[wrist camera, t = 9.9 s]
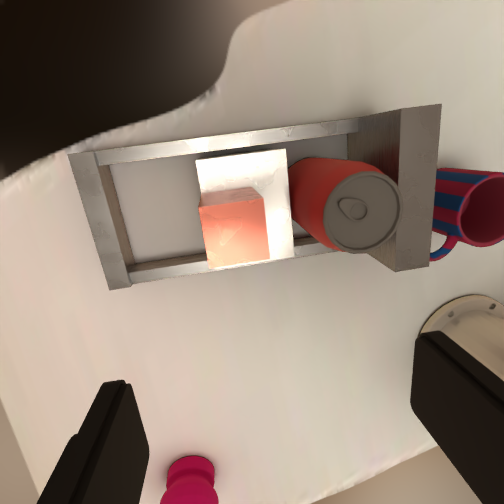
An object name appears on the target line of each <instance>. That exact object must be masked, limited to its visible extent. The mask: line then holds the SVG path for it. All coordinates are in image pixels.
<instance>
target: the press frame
mask: <svg viewBox="0 0 504 504" xmlns="http://www.w3.org/2000/svg"><path fill="white" fill-rule="evenodd" d="M441 107H442V104H435V105H427V106H419V107H411V108H403V109H398V110H393V111H388V112H383V113H378V114H374V115H369V116H364V117H359V118H352V119H344V120H336V121H328V122H320V123H312V124H304V125H297V126H289V127H281V128H273V129H265V130H257V131H249V132H241V133H233V134H225V135H218V136H210V137H202V138H194V139H186V140H178V141H170V142H162V143H154V144H146V145H139V146H131V147H123V148H115V149H107V150H99V151H89V152H81V153H73V154H68V158H69V161H70V164H71V167H72V171H73V174H74V177H75V180H76V184H77V187H78V190H79V193H80V196H81V200H82V203H83V206H84V209H85V213H86V216H87V219H88V222H89V225H90V229H91V232H92V235H93V238H94V242H95V245H96V248H97V251H98V255H99V258H100V261H101V264H102V267H103V271H104V274H105V277H106V280H107V284H108V287H109V290H114V289H120V288H127V287H131V286H132V284H137V283H143V282H149V281H155V280H162V279H168V278H174V277H180V276H186V275H193V274H199V273H205V272H211V271H217V270H224V269H230V268H236V267H242V266H248V265H255V264H261V263H267V262H273V261H279V260H286V259H292V258H298V257H304V256H310V255H317V254H323V253H329V252H335V251H338V250H335V249H331V248H328V247H326V246H325V245H323V244H322V243H320V242H319V241H318V240H316V239H315V238H314V237H313V236H311V237H305V238H299V239H293V245H294V257H290V258H283V259H277V260H271V261H265V262H258V263H252V264H246V265H240V266H234V267H227V268H221V269H215V268H211V269H209V264H208V258H207V253H203V254H196V255H190V256H183V257H177V258H171V259H164V260H158V261H151V262H145V263H139V264H135V261H134V258H133V254H132V250H131V247H130V243H129V239H128V235H127V232H126V228H125V224H124V221H123V217H122V213H121V209H120V206H119V202H118V198H117V195H116V191H115V187H114V184H113V180H112V176H111V172H110V169H109V164H116V163H124V162H132V161H139V160H147V159H155V158H162V157H170V156H178V155H185V154H193V153H201V152H209V151H216V150H224V149H232V148H239V147H247V146H255V145H262V144H270V143H278V142H285V141H293V140H301V139H308V138H316V137H324V136H331V135H339V134H347V147H348V160H350V161H361V162H364V163H367V164H370V165H372V166H375V167H376V168H378V169H379V170H380V171H381V172H383V173H384V174H385V175H387V176H388V177H389V178H390V179H392V180H393V181H394V182H395V183H396V184H397V186H398V188H399V190H400V192H401V194H402V199H403V206H404V207H403V213H402V219H401V222H400V224H399V226H398V228H397V230H396V232H395V233H394V234H393V236H392V237H391V238H390V239H389V240H388V241H387V242H386V243H385V244H383V245H382V246H380V247H379V248H378V249H375V250H373V251H370V252H367V254H369V255H370V256H372V257H373V258H375V259H376V260H378V261H379V262H381V263H382V264H384V265H385V266H387V267H388V268H390V269H391V270H393V271H394V272H398V271H404V270H410V269H416V268H422V267H428V266H429V259H430V247H431V234H432V221H433V208H434V196H435V183H436V170H437V157H438V145H439V132H440V119H441Z"/></svg>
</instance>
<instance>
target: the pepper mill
mask: <svg viewBox="0 0 504 504" xmlns="http://www.w3.org/2000/svg"><path fill="white" fill-rule="evenodd" d="M166 487H167V491H166V492H165V493H164V495H163V497H162V499H161V502H160V504H218V502H219V501H218V496H217V493H216V491H215V490H214V488H213V487H214V467H213V465H212V463H211V462H210V461H208V460H207V459H205V458H203V457H199V456H189V457H184V458H181V459H179V460H178V461H176V462H175V463H174V464H173V465H172V466H171V467H170V469H169V471H168V477H167V484H166Z"/></svg>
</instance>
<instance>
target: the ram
mask: <svg viewBox="0 0 504 504" xmlns="http://www.w3.org/2000/svg"><path fill="white" fill-rule="evenodd" d="M196 166H197V172H198V177H199V183H200V189H201V198H200V202H199V206H198V209H199V215H200V220H201V225H202V231H203V236H204V242H205V247H206V253H207V258H208V264H209V269H211V268H215V269H221V268H227V267H234V266H240V265H246V264H252V263H258V262H265V261H271V260H277V259H283V258H290V257H294V245H293V232H292V220H291V208H290V195H289V183H288V170H287V158H286V149H265V150H257V151H250V152H242V153H235V154H227V155H219V156H212V157H204V158H198V159H197V160H196Z"/></svg>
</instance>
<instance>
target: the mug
mask: <svg viewBox="0 0 504 504" xmlns="http://www.w3.org/2000/svg"><path fill="white" fill-rule="evenodd" d="M432 231H434V232H437V233H440V234H442V235H445V236H447V239H446V241H445V243H444V245H443V246H442V247H441V248H440V249H439V250H437V251H435V252H433V253H430V259H429V261H437V260H440V259H441V258H443V257H445V256H446V255H447V254H448V253H449V252H450V251H451V250H452V249H453V248H454V246H455V245H456V243H457V241H461V242H464V243H467V244H469V245H472V246H476V247H487V246H491V245H494V244H496V243H499V242H500V241H502V240H504V173H502V172H490V171H478V170H466V169H454V168H440V169H437V170H436V183H435V196H434V208H433V221H432Z"/></svg>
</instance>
